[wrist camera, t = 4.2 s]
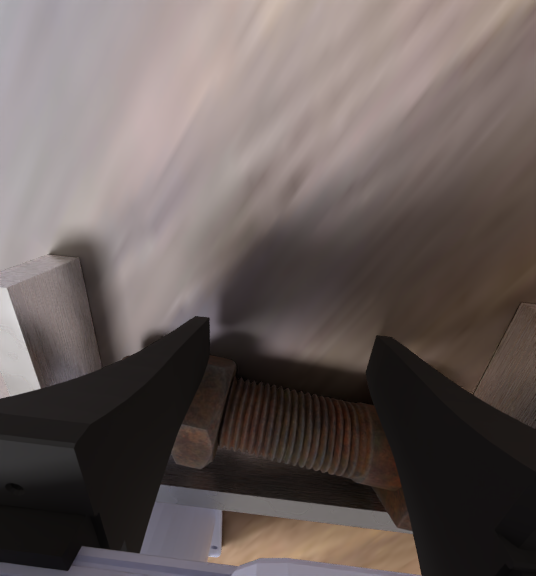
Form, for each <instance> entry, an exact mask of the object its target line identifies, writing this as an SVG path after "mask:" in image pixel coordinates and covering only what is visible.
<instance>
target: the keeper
mask: <svg viewBox="0 0 536 576" xmlns="http://www.w3.org/2000/svg"><path fill="white" fill-rule="evenodd" d="M101 368H102V365H101V360H100V355H99V350H98V345H97V341H96V336H95V331H94V326H93V321H92V317H91V312H90V307H89V302H88V298H87V293H86V288H85V283H84V278H83V274H82V269H81V264H80V259H79V258H77V257H67V256H57V255H45V256H42V257H39V258H36V259H33V260H30V261H28V262H25V263H22V264H19V265H16V266H13V267H10V268H7V269H5V270H2V271H0V373H1V375H2V378H3V380H4V383H5V385H6V387H7V390H8V392H9V395H10V396H14V395H18V394H22V393H26V392H30V391H34V390H37V389H41V388H45V387H49V386H52V385H55V384H59V383H62V382H65V381H68V380H71V379H74V378H77V377H80V376H83V375H86V374H89V373H91V372H94V371H96V370H99V369H101ZM474 396H476V397H477V398H479V399H481V400H482V401H484V402H486V403H487V404H489V405H491V406H492V407H494V408H496V409H498V410H500V411H501V412H503V413H505V414H507V415H509V416H511V417H513V418H515V419H517V420H518V421H520V422H522V423H524V424H526V425H528V426H530V427H532V428H534V429H536V304H530V303H521V304H520V306H519V308H518V310H517V312H516V314H515V316H514V318H513V320H512V322H511V324H510V325H509V327H508V329H507V331H506V333H505V335H504V337H503V339H502V341H501V343H500V345H499V347H498V349H497V350H496V352H495V354H494V356H493V358H492V360H491V362H490V364H489V366H488V368H487V370H486V372H485V374H484V375H483V377H482V379H481V381H480V383H479V385H478V387H477V389H476V391H475V393H474ZM155 502H161V503H169V504H177V505H185V506H193V507H201V508H209V509H217V510H225V511H233V512H241V513H249V514H257V515H265V516H273V517H281V518H289V519H297V520H305V521H313V522H321V523H329V524H337V525H345V526H353V527H361V528H369V529H377V530H385V531H393V532H401V533H409V534H413V531H408V530H404V529H400V528H397V527H396V525H395V524H394V522H393V521H392V519H391V518H390V516H389V514H388V513H387V511H386V510H385V508H384V506H383V505H382V503H381V502H380V500H379V498H378V497H377V495H376V493H375V492H374V490H373V489H372V487H371V486H369V485H364V484H360V483H356V482H354V481H353V480H352V479H350V478H346V477H342V476H337V475H336V474H335V473H334V474H333V475H331V474H329V473H328V472H325V473H322V472H321V470H318V471H314V469H313V467H312V468H311V469H307V468H306V466H304V467H302V468H301V467H299V464H298V463H297V465H295V466H293V465H292V462H291V460H290V462H289V463H288V464H285V462H284V459H282V461H281V462H278V461H277V458H276V457H275V458H274V460H273V461H272V460H271V459H270V457H269V455H268V456H267V458H266V459H264V458H263V455H262V453H261V454H260V455H259V457H256V454H255V452H253V453H252V454H251V455H249V453H248V451H247V450H246V451H245V452H244V453H243V454H242V452H241V450H240V448H239V449H238V450H237V451H236V452H234V449H233V447H231V448H230V449H229V450H228V451H227V448H226V446H224V447H222V448H221V449H220V447H219V446H218V449H217V452H216V455H215V457H214V460H213V461H212V462H210V463H209V464H208V465H206V466H205V467H204V468H202V469H196V468H192V467H188V466H183V465H179V464H176V463H175V461H174V459H173V456H172V454H171V455H170V457H169V460H168V463H167V466H166V470H165V473H164V476H163V479H162V482H161V485H160V488H159V491H158V494H157V498H156V501H155Z"/></svg>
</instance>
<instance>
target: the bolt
mask: <svg viewBox="0 0 536 576" xmlns="http://www.w3.org/2000/svg"><path fill="white" fill-rule="evenodd" d="M127 357H129V356H126V357H124V358H123V359H125V358H127ZM123 359H122V360H123ZM236 370H237V365H236V364H235V362H234V361H233V360H230V359H226V358H221V357H217V356H212V355H210V357H209V360H208V363H207V367H206V370H205V373H204V376H203V378H202V381H201V383H200V385H199V387H198V390H197V392H196V394H195V396H194V398H193V400H192V403H191V405H190V407H189V409H188V411H187V413H186V416H185V418H184V420H183V422H182V425H181V427H180V429H179V432H178V434H177V437H176V440H175V443H174V446H173V449H172V452H171V454H172V456H173V459H174V461H175V463H176V464H179V465H183V466H188V467H192V468H196V469H202V468H204V467H205V466H206V465H208V464H209V463H210V462H212V461H213V460H214V457H215V455H216V452H217V449H218V446H219V447H220V449H221V448H222V447H224V446H226V448H227V451H228V450H229V449H230V448H231V447H233V449H234V452H236V451H237V450H238V449H239V448H240V450H241V452H242V454H243V453H244V452H245V451H246V450H247V451H248V453H249V455H251V454H252V453H253V452H255V454H256V457H259V455H260V454H261V453H262V455H263V458H264V459H266V458H267V456H268V455H269V457H270V459H271V460H272V461H273V460H274V458H275V457H276V458H277V461H278V462H281V461H282V459H284V462H285V464H288V463H289V462H290V460H291V462H292V465H293V466H295V465H297V463H298V464H299V467H301V468H302V467H304V466H306V468H307V469H311V468H312V467H313V469H314V471H318V470H321V472H322V473H325V472H328V473H329V474H331V475H333V474H334V473H335V474H336V475H337V476H342V477H346V478H350V479H352V480H353V481H354V482H356V483H360V484H364V485H369V486H371V487H372V489H373V490H374V492H375V493H376V495H377V497H378V498H379V500H380V502H381V503H382V505H383V506H384V508H385V510H386V511H387V513H388V514H389V516H390V518H391V519H392V521H393V522H394V524H395V525H396V527H397V528H400V529H404V530H408V531H412V527H411V522H410V518H409V514H408V510H407V506H406V502H405V498H404V494H403V490H402V486H401V482H400V478H399V475H398V471H397V467H396V464H395V460H394V457H393V454H392V451H391V448H390V445H389V443H388V440H387V437H386V435H385V432H384V430H383V427H382V424H381V422H380V419H379V417H378V414H377V411H376V409H375V406H374V405H370V404H365V403H360V402H359V403H353V402H352V403H350V402H347V401H342V400H340V399H339V400H336V399H334V398H331V399H330V398H329V397H325V398H324V397H323V396H319V397H317V395H316V394H314V395H312V396H311V395H310V393H308V392H307V393H306V394H305V395H304V394H303V391H299V392H298V393H297V392H296V390H295V389H293V390H292V391H291V392H290V390H289V388H286V389H285V390H283V387H281V386H280V387H279V388H278V389H277V388H276V386H275V385H273V386H272V387H271V388H270V386H269V384H266V385H265V386H263V384H262V382H260V383H259V384H258V385H257V384H256V381H253V382H252V383H251V384H250V381H249V379H247V380H246V381H245V382H244V381H243V379H242V377H241V378H240V379H239V380H238V381H237V379H236V377H235V376H236Z"/></svg>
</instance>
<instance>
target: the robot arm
mask: <svg viewBox="0 0 536 576" xmlns="http://www.w3.org/2000/svg"><path fill="white" fill-rule="evenodd" d="M209 357H210V324H209V318H207V317H198V316H195V317H194V318H192V319H190V320H189V321H187V322H186V323H184V324H183V325H181V326H180V327H179V328H177V329H175V330H174V331H172V332H171V333H169V334H168V335H166V336H165V337H163V338H162V339H160V340H158V341H156V342H155V343H153V344H151V345H150V346H148V347H146V348H144V349H143V350H141V351H139V352H137V353H135V354H133V355H131V356H129V357H127V358H125V359H123V360H121V361H118V362H116V363H114V364H111V365H109V366H106V367H104V368H101V369H99V370H96V371H94V372H91V373H89V374H86V375H83V376H80V377H77V378H74V379H71V380H68V381H65V382H62V383H59V384H55V385H52V386H49V387H45V388H41V389H37V390H34V391H30V392H26V393H22V394H18V395H14V396H10V397H6V398H1V399H0V576H421V575H415V574H407V573H399V572H392V571H384V570H376V569H368V568H360V567H353V566H345V565H337V564H329V563H322V562H314V561H306V560H298V559H291V558H260V559H257V560H254V561H251V562H248V563H245V564H243V565H240V566H231V565H223V564H216V563H208V562H207V560H208V556H210V557H219V556H220V555H221V550H222V512H223V510H217V509H209V508H201V507H193V506H185V505H177V504H169V503H161V502H155V501H156V498H157V494H158V491H159V488H160V485H161V482H162V479H163V476H164V473H165V470H166V466H167V463H168V460H169V457H170V455H171V452H172V449H173V446H174V443H175V440H176V437H177V434H178V432H179V429H180V427H181V425H182V422H183V420H184V418H185V416H186V413H187V411H188V409H189V407H190V405H191V403H192V400H193V398H194V396H195V394H196V392H197V390H198V387H199V385H200V383H201V381H202V378H203V376H204V373H205V370H206V367H207V363H208V360H209ZM366 378H367V383H368V387H369V391H370V395H371V398H372V401H373V403H374V406H375V409H376V411H377V414H378V417H379V419H380V422H381V424H382V427H383V430H384V432H385V435H386V437H387V440H388V443H389V445H390V448H391V451H392V454H393V457H394V460H395V464H396V467H397V471H398V475H399V478H400V482H401V486H402V490H403V494H404V498H405V502H406V506H407V510H408V514H409V518H410V522H411V527H412V531H413V536H414V540H415V545H416V549H417V554H418V559H419V564H420V569H421V574H422V576H536V429H534V428H532V427H530V426H528V425H526V424H524V423H522V422H520V421H518V420H517V419H515V418H513V417H511V416H509V415H507V414H505V413H503V412H501V411H500V410H498V409H496V408H494V407H492V406H491V405H489V404H487V403H486V402H484V401H482V400H481V399H479V398H477V397H476V396H474V395H472V394H471V393H469V392H467V391H466V390H464V389H463V388H461V387H460V386H458V385H457V384H455V383H454V382H452V381H451V380H449V379H448V378H446V377H445V376H444V375H442V374H441V373H439V372H438V371H437V370H435V369H434V368H432V367H431V366H430V365H428V364H427V363H426V362H424V361H423V360H422V359H420V358H419V357H418V356H417V355H415V354H414V353H413V352H411V351H410V350H409V349H407V348H406V347H405V346H403V345H402V344H401V343H399V342H398V341H397V340H395V339H393V338H392V337H387V336H376V339H375V342H374V346H373V349H372V353H371V356H370V360H369V363H368V366H367V370H366Z"/></svg>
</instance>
